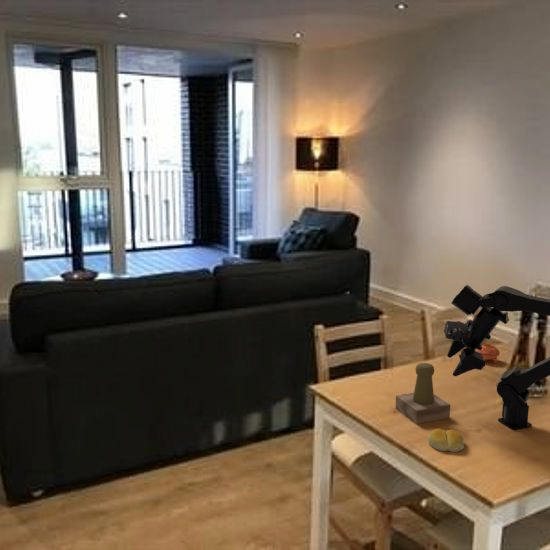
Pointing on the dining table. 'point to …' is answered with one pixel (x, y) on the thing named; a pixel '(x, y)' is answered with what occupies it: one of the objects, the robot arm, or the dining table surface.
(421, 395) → the cork
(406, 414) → the walnut block
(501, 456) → the dining table surface
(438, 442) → the bread roll
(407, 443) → the dining table surface
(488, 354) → the pot
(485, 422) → the dining table surface
